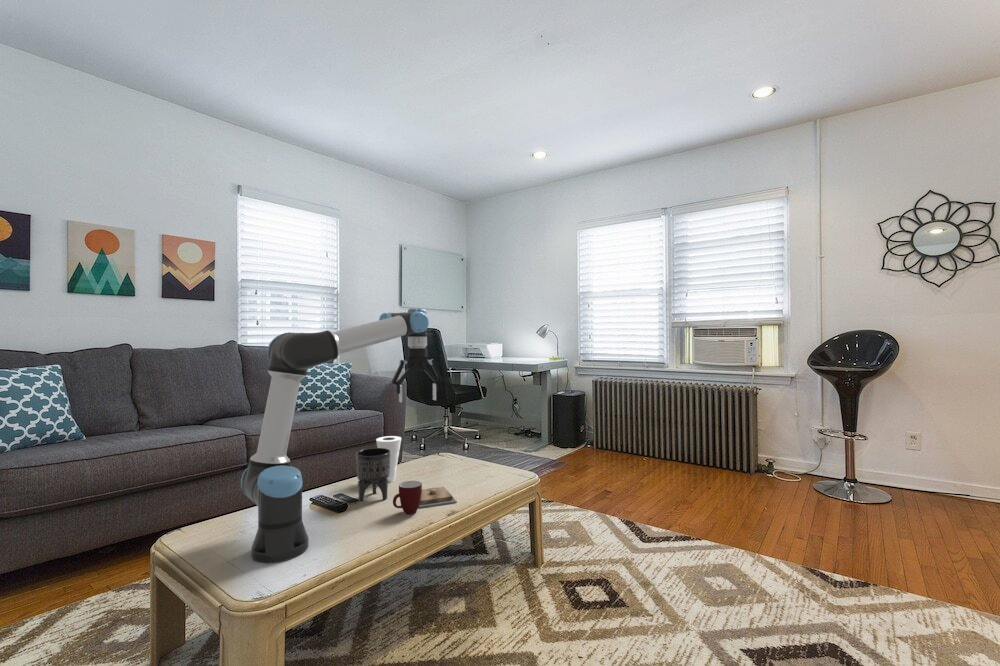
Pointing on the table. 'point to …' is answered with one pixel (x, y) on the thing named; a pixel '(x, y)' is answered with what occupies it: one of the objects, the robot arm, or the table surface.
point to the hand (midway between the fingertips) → (417, 401)
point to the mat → (437, 503)
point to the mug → (409, 496)
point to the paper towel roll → (394, 447)
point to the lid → (435, 495)
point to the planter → (373, 470)
